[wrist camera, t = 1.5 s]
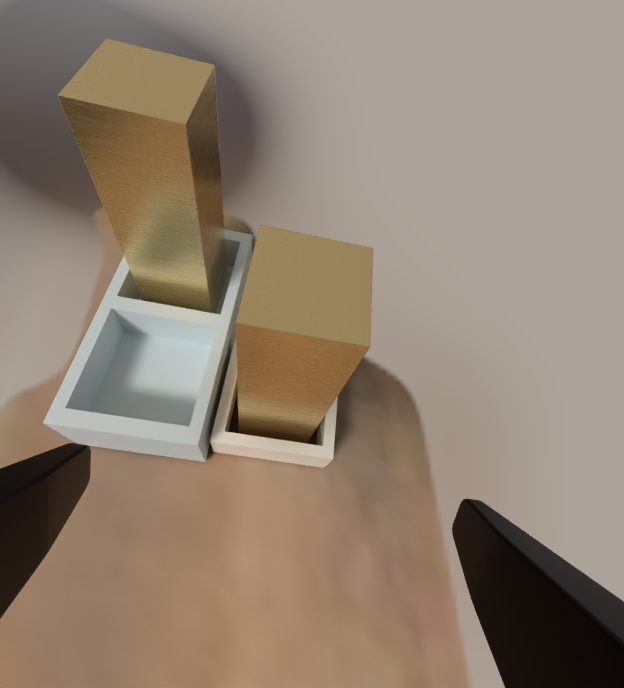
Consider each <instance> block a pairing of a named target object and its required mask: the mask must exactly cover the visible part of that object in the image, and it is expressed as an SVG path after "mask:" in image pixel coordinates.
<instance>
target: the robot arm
mask: <svg viewBox="0 0 624 688" xmlns="http://www.w3.org/2000/svg"><path fill="white" fill-rule="evenodd" d="M90 463H91V450H90V447H89V446H88V445H84V444H77V443H68V444H65V445H63V446H60V447H57V448H54V449H52V450H49V451H46V452H44V453H41V454H38V455H36V456H33V457H30V458H28V459H25V460H22V461H20V462H17V463H14V464H12V465H9V466H6V467H3V468H1V469H0V618H1V617H2V616H3V614H4V613H5V611H6V610H7V609H8V607H9V606H10V605H11V603H12V602H13V600H14V599H15V598H16V596H17V595H18V593H19V592H20V591H21V589H22V588H23V587H24V585H25V584H26V582H27V581H28V580H29V578H30V577H31V576H32V574H33V573H34V571H35V570H36V569H37V567H38V566H39V564H40V563H41V562H42V560H43V559H44V557H45V556H46V554H47V553H48V552H49V550H50V548H51V547H52V545H53V543H54V542H55V540H56V538H57V537H58V535H59V533H60V532H61V530H62V528H63V527H64V525H65V523H66V521H67V520H68V518H69V516H70V515H71V513H72V511H73V509H74V508H75V506H76V504H77V503H78V501H79V499H80V498H81V496H82V494H83V492H84V491H85V489H86V487H87V485H88V482H89V479H90ZM452 533H453V538H454V541H455V545H456V548H457V552H458V555H459V559H460V562H461V566H462V569H463V573H464V576H465V580H466V583H467V587H468V590H469V593H470V596H471V599H472V602H473V605H474V608H475V611H476V613H477V616H478V618H479V621H480V624H481V626H482V629H483V631H484V634H485V637H486V639H487V642H488V644H489V647H490V650H491V652H492V655H493V657H494V660H495V662H496V665H497V667H498V670H499V673H500V676H501V678H502V681H503V683H504V686H505V688H624V601H622V600H621V599H619V598H618V597H616V596H615V595H614V594H612V593H610V592H609V591H608V590H607V589H605V588H604V587H602V586H601V585H599V584H598V583H597V582H595V581H593V580H592V579H591V578H589V577H588V576H587V575H585V574H584V573H582V572H581V571H580V570H578V569H577V568H575V567H574V566H572V565H571V564H570V563H568V562H566V561H565V560H564V559H562V558H561V557H560V556H558V555H557V554H555V553H554V552H552V551H551V550H550V549H548V548H547V547H546V546H544V545H543V544H541V543H540V542H538V541H537V540H536V539H534V538H533V537H531V536H530V535H529V534H527V533H526V532H524V531H523V530H521V529H520V528H519V527H517V526H516V525H514V524H513V523H511V522H510V521H509V520H507V519H506V518H504V517H503V516H501V515H500V514H499V513H497V512H496V511H494V510H493V509H492V508H490V507H489V506H487V505H486V504H485V503H483V502H482V501H479V500H472V499H464V500H463V501H462V502H461V504H460V506H459V509H458V512H457V514H456V517H455V520H454V523H453V527H452Z"/></svg>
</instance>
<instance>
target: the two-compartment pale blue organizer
mask: <svg viewBox="0 0 624 688" xmlns="http://www.w3.org/2000/svg"><path fill="white" fill-rule="evenodd" d="M224 236H225V253H226V271H227V275H226V279H225V282H224V286H223V289H222V293H221V296H220V300H219V303H218V306H217V310H216V313H215V314H214V313H209V312H203V311H198V310H192V309H186V308H181V307H175V306H170V305H164V304H159V303H153V302H147V301H143V300H142V298H141V295H140V293H139V291H138V288H137V286H136V283H135V281H134V278H133V276H132V274H131V271H130V269H129V266H128V264H127V262H126V259H125V257H123V259H122V261H121V263H120V265H119V267H118V269H117V271H116V273H115V275H114V278H113V280H112V282H111V284H110V286H109V288H108V290H107V292H106V294H105V296H104V298H103V300H102V302H101V304H100V306H99V308H98V311H97V313H96V315H95V317H94V319H93V321H92V323H91V325H90V327H89V329H88V331H87V333H86V335H85V337H84V339H83V342H82V344H81V346H80V348H79V350H78V352H77V354H76V356H75V358H74V360H73V362H72V364H71V366H70V368H69V370H68V372H67V375H66V377H65V379H64V381H63V383H62V385H61V387H60V389H59V391H58V393H57V395H56V397H55V399H54V401H53V403H52V406H51V408H50V410H49V412H48V414H47V416H46V418H45V420H44V422H43V423H44V424H45V425H47V426H49V427H50V428H52V429H54V430H55V431H57V432H59V433H60V434H62V435H64V436H66V437H67V438H69V439H71V440H72V441H74V442H76V443H77V444H84V445H88V446H95V447H102V448H110V449H117V450H124V451H131V452H138V453H145V454H152V455H159V456H167V457H174V458H181V459H188V460H195V461H202V462H206V457H207V453H208V449H209V445H210V439H211V435H212V431H213V427H214V423H215V419H216V415H217V411H218V406H219V402H220V398H221V394H222V390H223V386H224V382H225V378H226V374H227V370H228V365H229V361H230V357H231V353H232V349H233V345H234V341H235V337H236V319H237V315H238V311H239V307H240V303H241V299H242V295H243V291H244V287H245V283H246V279H247V275H248V271H249V267H250V263H251V259H252V235H251V234H246V233H241V232H236V231H231V230H226V229H224Z"/></svg>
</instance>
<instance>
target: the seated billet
mask: <svg viewBox="0 0 624 688" xmlns="http://www.w3.org/2000/svg"><path fill="white" fill-rule="evenodd" d="M58 97H59V100H60V102H61V104H62V107H63V109H64V112H65V114H66V117H67V119H68V121H69V124H70V126H71V129H72V131H73V133H74V136H75V138H76V141H77V143H78V145H79V148H80V150H81V153H82V155H83V158H84V160H85V162H86V165H87V167H88V170H89V172H90V174H91V177H92V179H93V182H94V184H95V187H96V189H97V191H98V194H99V196H100V199H101V201H102V204H103V206H104V208H105V211H106V213H107V216H108V218H109V220H110V223H111V225H112V228H113V230H114V233H115V235H116V237H117V240H118V242H119V245H120V247H121V249H122V252H123V254H124V257H125V259H126V262H127V264H128V266H129V269H130V271H131V274H132V276H133V278H134V281H135V283H136V286H137V288H138V291H139V293H140V295H141V298H142V300H143V301H147V302H153V303H159V304H164V305H170V306H175V307H181V308H186V309H192V310H198V311H203V312H209V313H214V314H215V313H216V310H217V306H218V303H219V300H220V296H221V293H222V289H223V286H224V282H225V279H226V275H227V271H226V253H225V236H224V219H223V202H222V185H221V168H220V150H219V134H218V116H217V100H216V99H217V98H216V82H215V66H214V65H211V64H207V63H204V62H199V61H195V60H191V59H187V58H183V57H179V56H175V55H171V54H167V53H163V52H159V51H154V50H150V49H146V48H142V47H138V46H134V45H130V44H126V43H121V42H118V41H114V40H109V39H106V40H105V41H104V42H103V43H102V44H101V46H100V47H99V48H98V49H97V50H96V51H95V52H94V54H93V55H92V56H91V57H90V58H89V59H88V61H87V62H86V63H85V64H84V65H83V66H82V68H81V69H80V70H79V71H78V72H77V73H76V75H75V76H74V77H73V78H72V79H71V80H70V82H69V83H68V84H67V85H66V86H65V88H64V89H63V90H62V91H61V92H60V93H59V94H58Z"/></svg>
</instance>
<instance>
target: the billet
mask: <svg viewBox="0 0 624 688" xmlns="http://www.w3.org/2000/svg"><path fill="white" fill-rule="evenodd" d="M372 261H373V248H369V247H365V246H360V245H355V244H350V243H345V242H341V241H336V240H331V239H326V238H321V237H316V236H311V235H307V234H302V233H297V232H292V231H287V230H282V229H277V228H273V227H268V226H263V225H260V227H259V231H258V235H257V239H256V243H255V247H254V251H253V255H252V259H251V263H250V267H249V271H248V275H247V279H246V283H245V287H244V291H243V295H242V299H241V303H240V307H239V311H238V315H237V319H236V352H237V386H238V421H239V434H245V435H252V436H259V437H265V438H272V439H279V440H286V441H292V442H299V443H307V442H308V440H309V439H310V437H311V436H312V434H313V433H314V431H315V430H316V428H317V427H318V425H319V423H320V422H321V420H322V419H323V417H324V416H325V414H326V413H327V411H328V410H329V408H330V407H331V405H332V404H333V402H334V401H335V399H336V398H337V396H338V395H339V393H340V392H341V390H342V389H343V387H344V386H345V384H346V383H347V381H348V379H349V378H350V376H351V375H352V373H353V372H354V370H355V369H356V367H357V366H358V364H359V363H360V361H361V360H362V358H363V357H364V355H365V354H366V352H367V351H368V349H369V348H370V332H371V297H372Z"/></svg>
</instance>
